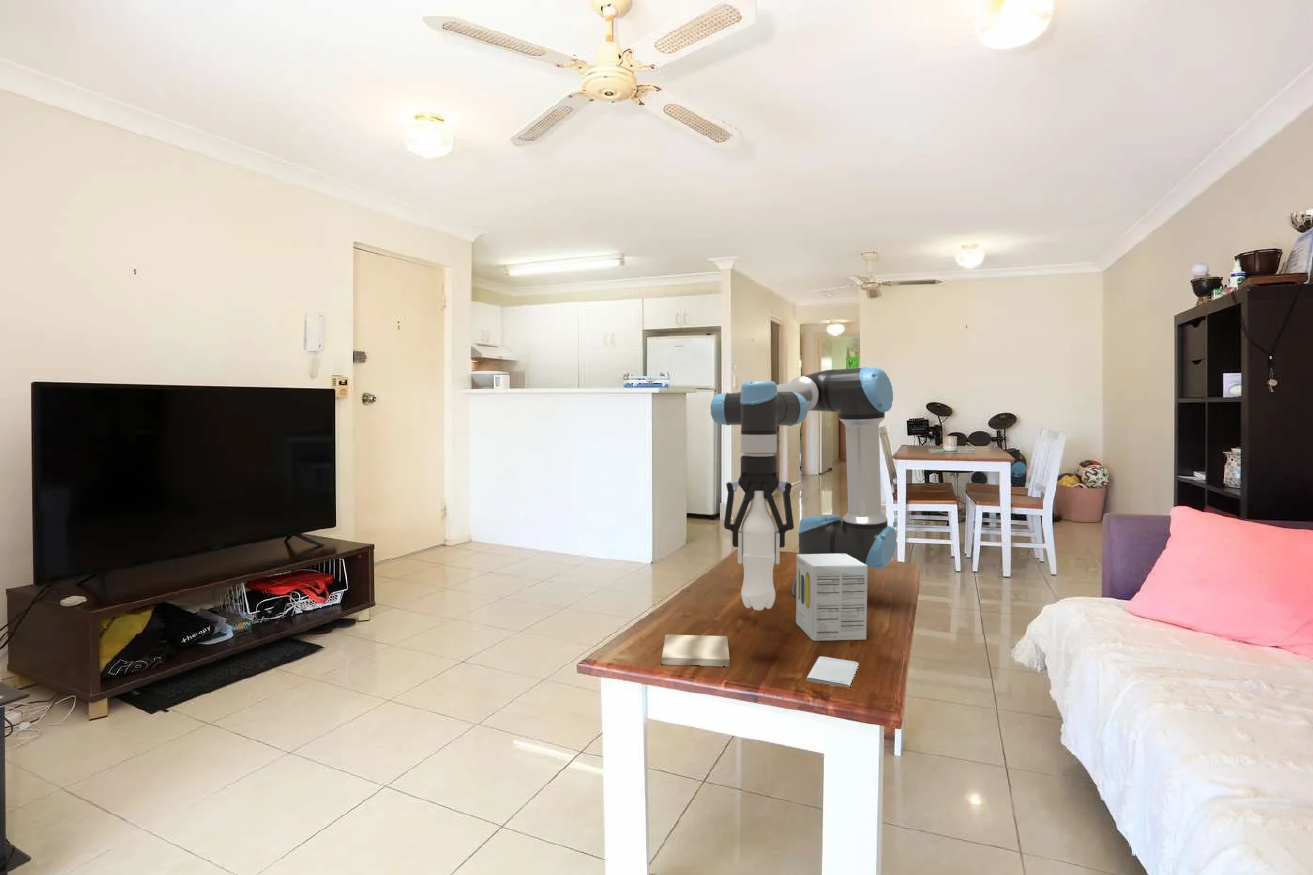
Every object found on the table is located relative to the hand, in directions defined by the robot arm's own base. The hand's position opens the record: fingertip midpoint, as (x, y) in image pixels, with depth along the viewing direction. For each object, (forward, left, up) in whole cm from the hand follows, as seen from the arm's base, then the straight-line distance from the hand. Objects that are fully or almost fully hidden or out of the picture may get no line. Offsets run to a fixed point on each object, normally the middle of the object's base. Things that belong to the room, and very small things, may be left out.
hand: (758, 562), depth 135 cm
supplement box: (-19, -19, -21) cm, 34 cm away
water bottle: (0, 0, -10) cm, 10 cm away
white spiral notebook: (-14, +7, -21) cm, 27 cm away
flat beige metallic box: (+13, -2, -21) cm, 25 cm away
